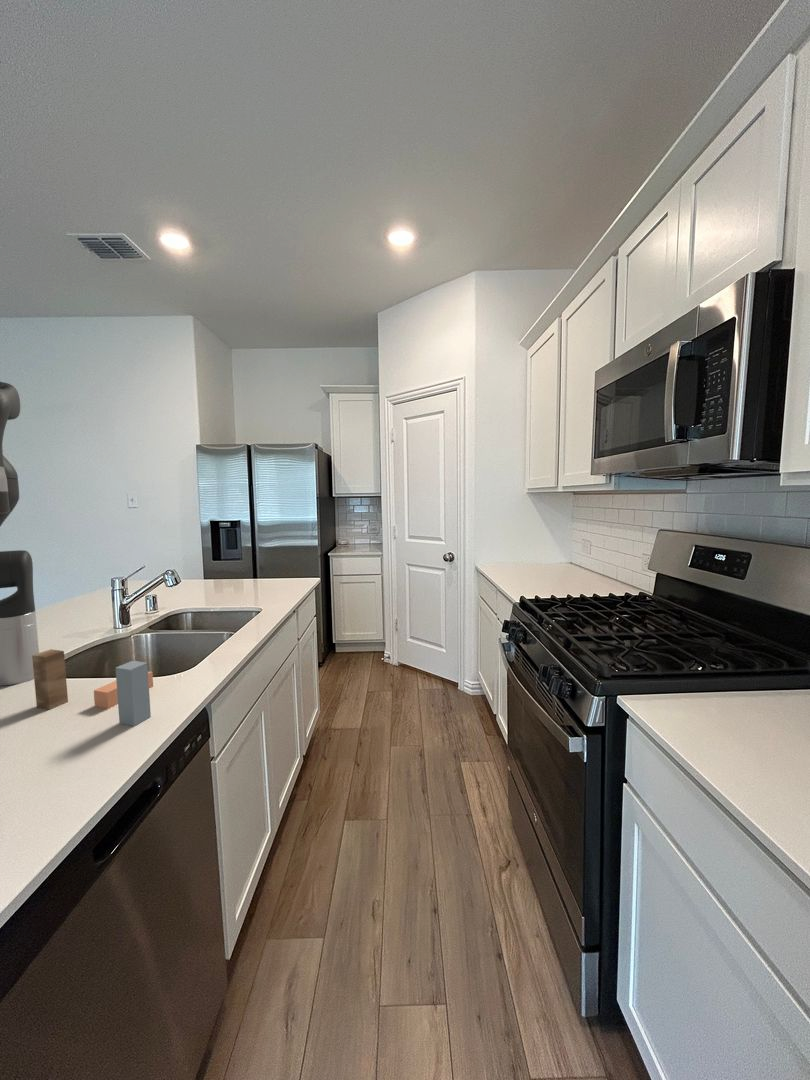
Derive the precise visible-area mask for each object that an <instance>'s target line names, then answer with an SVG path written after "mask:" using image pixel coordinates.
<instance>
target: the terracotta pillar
mask: <svg viewBox="0 0 810 1080" xmlns="http://www.w3.org/2000/svg"><path fill="white" fill-rule="evenodd" d="M153 676H154V674H153V671H149V670H148V681H149V689H152V688H153V687H154V679H153V678H154V677H153ZM93 698H94V699H93V700H94V701H93V702H94V707H95V708H100V709H107V710H109V709H111V707H112V708H114V707H116V706H118V705H117V704H118V695H117V681H116V680H114V681H112V682H110V683H107V684H106V685H103V686H101V687H98V688H96V689H94V690H93ZM115 705H116V706H115Z"/></svg>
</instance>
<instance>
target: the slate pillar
mask: <svg viewBox="0 0 810 1080" xmlns="http://www.w3.org/2000/svg"><path fill="white" fill-rule="evenodd" d="M148 665H149V664H148V662H145V661H138V660H131V661H128V662H126V663H124V664H121V665H118V666H115V678H116V679H115V681H117V695H118V705H117V708H118V718H119V719H118V722H119V724H122V725H126V726H132V727H135V726H137V725H139V724H141V723H143V722H145V721H146V720H148V719H150V718H151V717H152V715H151V714H152V713H151V701H150V700H151V699H150V688H149V681H148V671H149V670H148Z"/></svg>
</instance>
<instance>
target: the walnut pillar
mask: <svg viewBox="0 0 810 1080" xmlns="http://www.w3.org/2000/svg"><path fill="white" fill-rule="evenodd" d="M32 661H33V671H34V679H33V680H34V681H33V682H34V690H35V691H34V692H35V703H36V708H38V709H44V710H49V711H50V710H53V709H55V708H57V707H59V706H61V705H63V704H66V703H68V702H69V697H68V696H69V694H68V685H67V672H66V660H65V651H64V650H59V649H58V650H57V649H53V648H52V649H51V648H50V649H47V650H44V651H42V652H39V653H38V654H35V655H32Z"/></svg>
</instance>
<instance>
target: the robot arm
mask: <svg viewBox="0 0 810 1080" xmlns="http://www.w3.org/2000/svg"><path fill="white" fill-rule="evenodd" d="M19 394H20V393H19V392H18V390H17V388H16V387H15V386H14V385H12V384H11V383H8V382H5V381H0V527H1V526H2V525H3V524H4V522H5V521H6V519H7V518H8V517H9V515H10V514H11V513H12V512H13V511H14V509H15V507H16V506H17V504H18V503H19V500H20V489H19V487H20V485H19V479H18V478H19V476H18V473H17V470H16V469H15V467H14V466H13V464H12V463H11V462H10V461H9V460H8V459H7V458H6V456H4V454H3V453H4V452H3V440H4V435H5V429H6V425H7V423H8V421H10V420H15V419H18V418H19V416H20V413H21V400H20V395H19ZM33 566H34V565H33V559H32V555H31V554H30V552H29V551H28V550H23V549H21V550H19V549H18V550H17V549H16V550H3V551H2V550H1V551H0V589H6V588H17V590H16V591H15V592H14V593H12V594H11V595H9V596H7V597H4V598H2V599H0V686H11V685H16V684H22V683H25V682H28V681H32V680H34V671H33V661H32V655H35V654H38V653H40V647H39V646H40V645H39V635H38V625H37V616H36V605H35V593H34V567H33Z"/></svg>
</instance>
